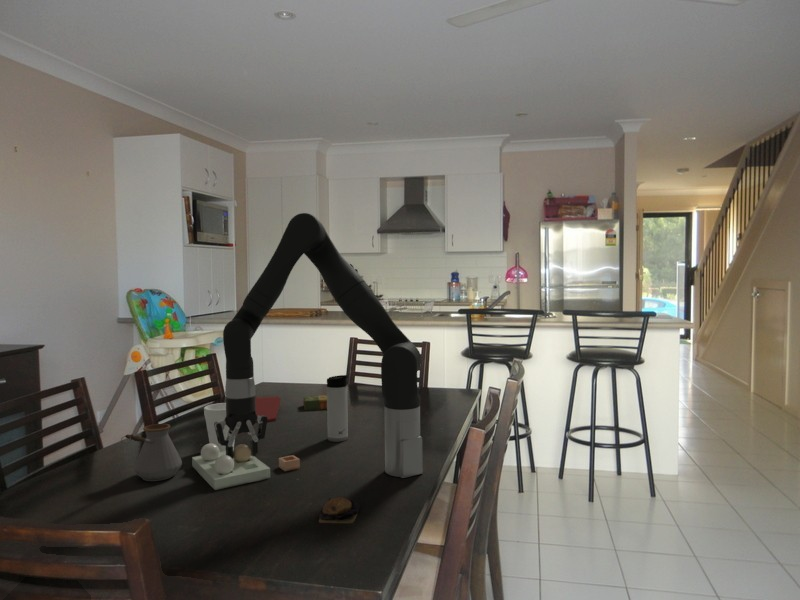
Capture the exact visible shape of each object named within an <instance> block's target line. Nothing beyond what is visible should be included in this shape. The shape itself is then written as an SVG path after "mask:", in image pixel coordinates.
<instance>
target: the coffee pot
mask: <svg viewBox="0 0 800 600" xmlns="http://www.w3.org/2000/svg"><path fill="white" fill-rule="evenodd" d="M170 428H171V424H168V423H156V424H155V423H154V424H149V425H146V426H144V427H143V431H144V432H145V434H146V437H142V436H139V435H134V434H125V435H124V436H123V437H121V439H120V442H121V443H122V444H125V445H127V444H129V443H131V441H132V440H133V441H134V442H139V443H143V444H142V446H141V449H140V452H139V455H138V456H137V459H136V462H135V464H134V467H133V470H134V472H135V474H136V475H137V476H138V477H140V478H142V480H143V481H146V482H159V481H164V480H167V479H170V478H173V477H174V476H175V474H176V473H177V472H178V471H180V469H181V468H182V465H183V461H182V459H181V456H180V454H179V452H178V450H177V448H176V447H175V445H174V443H173V441H172V439H171V437H170V436H169V429H170ZM123 438H126V439H129V441H128V442H125V443H124V442H123Z"/></svg>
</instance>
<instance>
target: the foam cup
mask: <svg viewBox="0 0 800 600" xmlns="http://www.w3.org/2000/svg"><path fill="white" fill-rule="evenodd" d="M203 412H204V413H203V414H204V418H205V419H204V420H205V424H206V425H205V426H206V431H207V435H208V436H207V437H208V442H209V443H213V444H215V445H217V446H218V448H219V451H220V452H224V451H226V446H222V445H221V444H219V443H218V440H217V435H216V431H215V427H214V423H215V422H221V421H224V420H225V418H226V402H220V403H212V404H208V405H206V406H204V407H203ZM228 431H229V427H228V426H227V425H225V426H224V430H223V435H224V439H225V440H226V438H227V433H228ZM235 439H236V438H235ZM235 439H234V442H233V444H232V446H233V450H234V448H235V441H236V440H235Z"/></svg>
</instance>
